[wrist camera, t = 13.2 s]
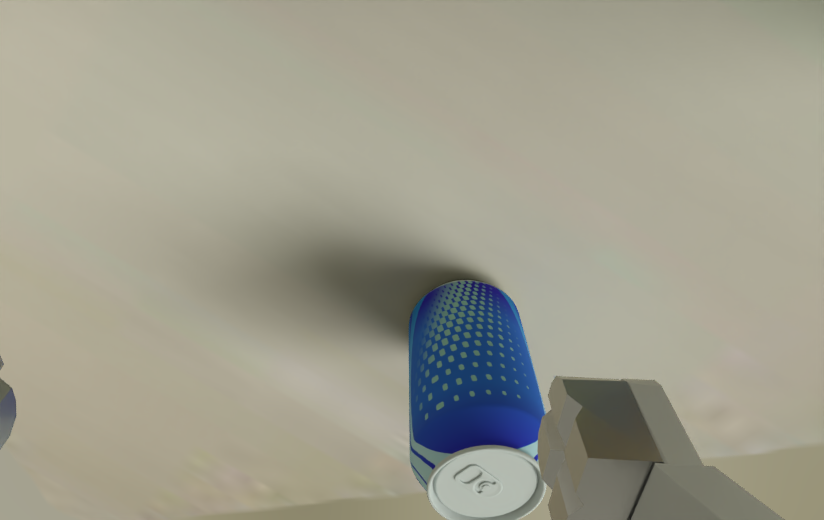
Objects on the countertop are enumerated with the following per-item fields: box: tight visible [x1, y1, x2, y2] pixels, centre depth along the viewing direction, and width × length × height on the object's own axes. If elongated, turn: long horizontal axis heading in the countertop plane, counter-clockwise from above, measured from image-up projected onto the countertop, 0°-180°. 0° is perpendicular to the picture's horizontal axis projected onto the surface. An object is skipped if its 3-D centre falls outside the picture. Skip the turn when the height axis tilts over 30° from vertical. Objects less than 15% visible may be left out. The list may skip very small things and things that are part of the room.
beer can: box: [409, 280, 546, 520], centre depth 40 cm, size 8×8×16 cm
